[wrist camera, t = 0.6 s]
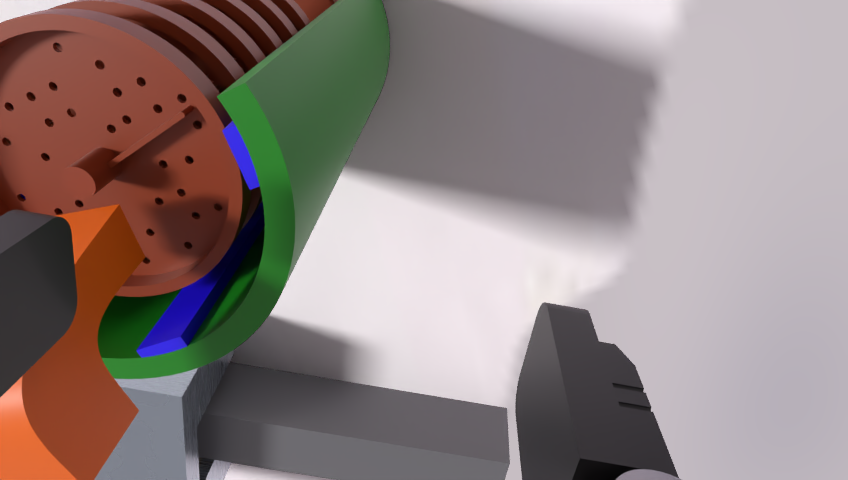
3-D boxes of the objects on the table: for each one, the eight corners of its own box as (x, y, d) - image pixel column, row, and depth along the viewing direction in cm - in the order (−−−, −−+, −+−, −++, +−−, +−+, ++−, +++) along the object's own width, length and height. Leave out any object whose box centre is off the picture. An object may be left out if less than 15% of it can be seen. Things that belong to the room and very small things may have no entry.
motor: (337, -106, 24) (-15, -54, 7) (426, 106, 28) (343, 478, 11) (124, -2, 27) (-523, 228, 9) (233, 179, 31) (-83, 575, 13)
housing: (87, 280, 34) (4, 367, 28) (233, 305, 34) (181, 397, 28) (110, 434, 40) (45, 532, 34) (234, 454, 40) (191, 556, 34)
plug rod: (165, 351, 37) (133, 401, 33) (506, 408, 37) (509, 463, 33) (169, 395, 38) (138, 447, 35) (494, 449, 39) (495, 505, 35)
